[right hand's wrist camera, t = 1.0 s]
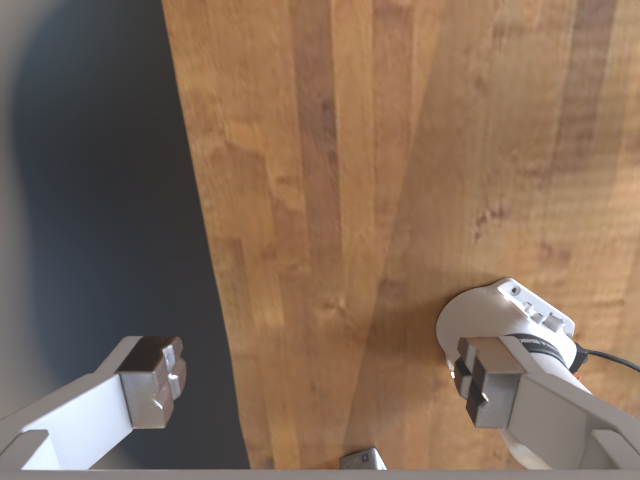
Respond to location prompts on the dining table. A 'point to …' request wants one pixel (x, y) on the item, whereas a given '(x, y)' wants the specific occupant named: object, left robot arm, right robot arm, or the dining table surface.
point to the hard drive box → (362, 460)
